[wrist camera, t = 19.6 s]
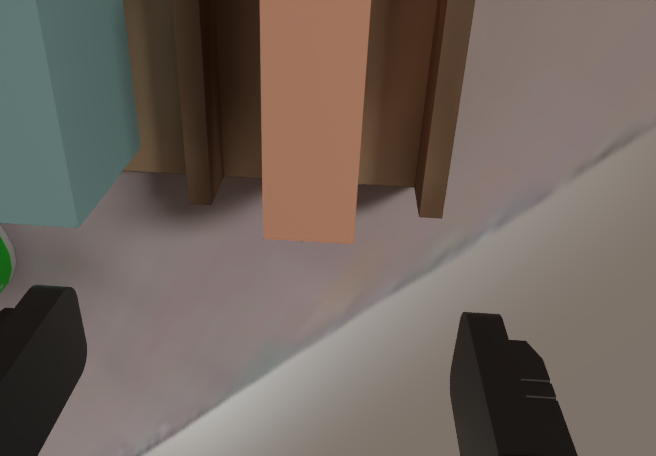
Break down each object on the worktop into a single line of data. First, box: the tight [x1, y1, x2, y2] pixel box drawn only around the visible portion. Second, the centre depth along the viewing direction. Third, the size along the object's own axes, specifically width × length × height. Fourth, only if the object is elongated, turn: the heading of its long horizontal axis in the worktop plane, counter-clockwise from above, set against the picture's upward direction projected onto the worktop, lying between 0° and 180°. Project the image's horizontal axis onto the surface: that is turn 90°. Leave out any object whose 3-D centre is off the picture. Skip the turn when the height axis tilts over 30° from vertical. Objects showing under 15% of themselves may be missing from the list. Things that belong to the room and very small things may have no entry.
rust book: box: [260, 0, 371, 244], centre depth 28 cm, size 4×12×9 cm, turn 178°
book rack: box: [123, 0, 475, 218], centre depth 32 cm, size 26×15×5 cm, turn 88°
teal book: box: [0, 0, 140, 228], centre depth 29 cm, size 4×12×9 cm, turn 178°
